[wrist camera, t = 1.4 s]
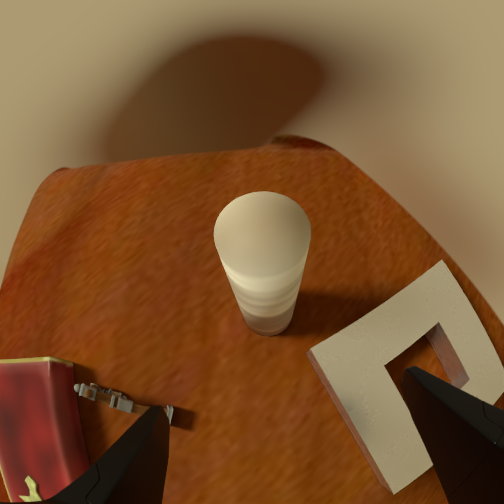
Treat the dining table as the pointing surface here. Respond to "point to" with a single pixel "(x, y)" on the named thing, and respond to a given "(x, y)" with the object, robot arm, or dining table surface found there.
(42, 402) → the hardcover book
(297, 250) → the ball
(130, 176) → the dining table surface
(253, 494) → the dining table surface
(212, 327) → the dining table surface
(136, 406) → the wooden post with brackets
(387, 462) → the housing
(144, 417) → the robot arm
